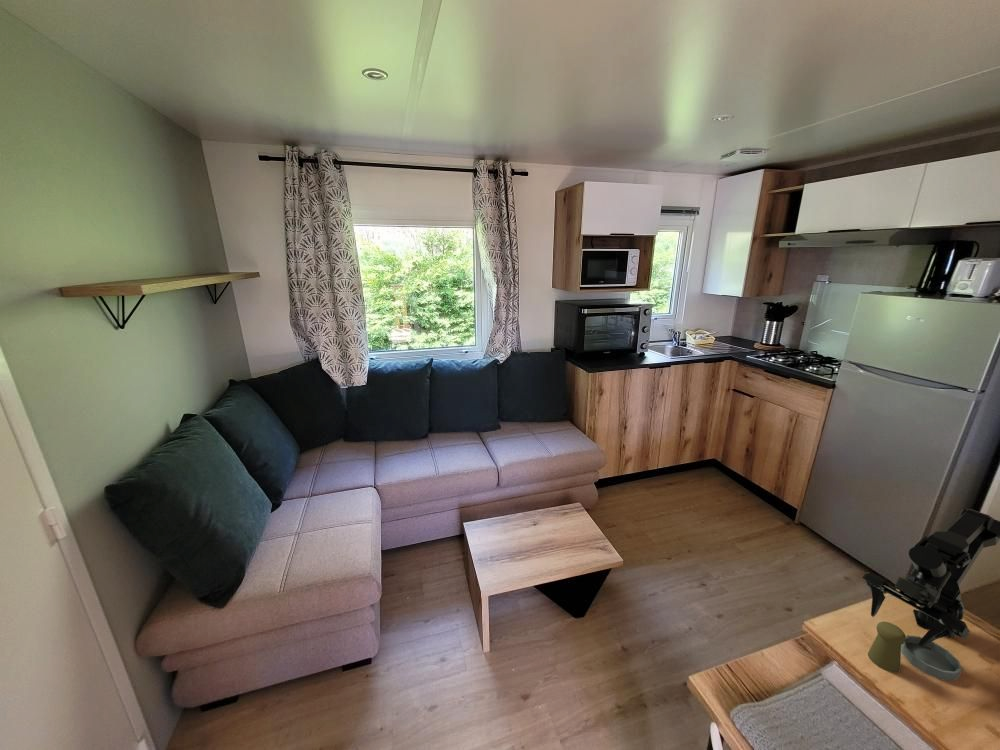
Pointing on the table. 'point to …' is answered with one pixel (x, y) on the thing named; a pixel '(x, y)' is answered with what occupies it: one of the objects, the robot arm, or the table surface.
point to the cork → (887, 647)
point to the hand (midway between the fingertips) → (894, 630)
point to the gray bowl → (931, 659)
